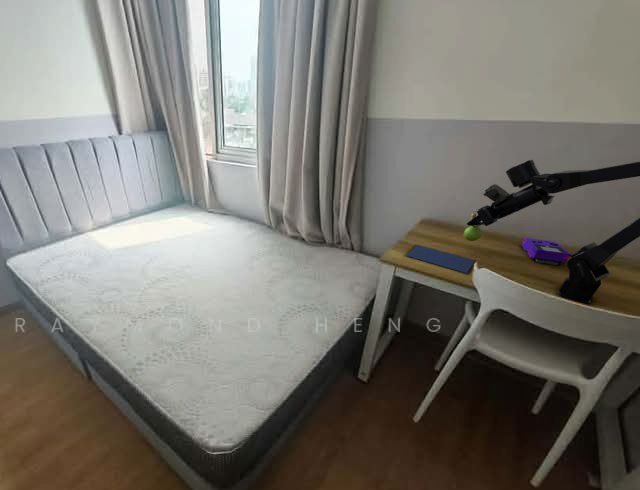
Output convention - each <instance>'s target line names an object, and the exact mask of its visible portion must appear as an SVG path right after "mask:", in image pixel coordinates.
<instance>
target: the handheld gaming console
mask: <svg viewBox="0 0 640 490" xmlns="http://www.w3.org/2000/svg"><path fill="white" fill-rule="evenodd" d="M522 248H523V250H524V251H527V252H526V253H527V255H528V257H529V258H530V259H535V262H536V263H540V264H547V265H553V266H558V265H559V263H561V264H562V263H565V264H567V262H568V260H569V259H570V258H571V257H570V255H572V253H570V252H569V251H568V250H567V249H566V248H564V247H563V246H561V245H560V244H558V243H557V242H556V241H552V240H545V239H537V238H527V237H525V238H524V240H523V242H522Z"/></svg>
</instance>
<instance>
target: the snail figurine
mask: <svg viewBox="0 0 640 490" xmlns="http://www.w3.org/2000/svg"><path fill="white" fill-rule="evenodd" d="M477 215H478V213H477V210H475V209H473V210H472V213H471V218H470V221H471V220H472V219H473V218H475V217H476V216H477ZM480 227H481V225H472V226H468V227H467V228H465V229H464V231H463V237H464V239H466V241H469V242H474V241H477V240H479V239H480V238H481V237H482V235H483V230H482V229H481V228H480Z"/></svg>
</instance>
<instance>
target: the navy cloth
mask: <svg viewBox="0 0 640 490" xmlns="http://www.w3.org/2000/svg"><path fill="white" fill-rule="evenodd" d="M406 257H407V258H410V259H415V260H418V261H420V262H421V261H422V262H425V263H428V264H431V265H435V266H439V267H442V268H446V269H449V270H453V271H456V272H459V273H462V274H465V275H466V274H468V272H469V271H470V270H471V268H472V266H473V265H474V263H475V262H476V260H475V259H472V258H467V257H463V256H460V255H455V254H452V253H449V252H446V251H440V250H437V249H434V248H429V247H426V246H423V245H416V246H415V247H413V249H412V250H411V251H409V253H407V254H406Z"/></svg>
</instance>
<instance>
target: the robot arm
mask: <svg viewBox="0 0 640 490" xmlns="http://www.w3.org/2000/svg"><path fill="white" fill-rule="evenodd" d="M505 174H506V176H507V178H508V179H509V181H510V183H511V185H512V187H513V188H518V189H520V190H518V191H516V192H511V193H510V192H508V191H507V190H505V189H504V188H503V187H501V186H500V185H498V184H496V183H495V184H492V185H490V186H488V187H487V188H485V190H484V191H483V193H482V195H483V196H484V197H487V198H488V199H489V200H491V201H492V202H491V204H490V205H484V206H482V207H480V208H477V209H476V215H477V214H478V215H477V216H476V217H475V218H473V219H472V220H471V219H470V220H469V221H468V222H466V225H467V226H468V227H471V226H472V225H480V226H485V227H488V226H490V225H492V224H495V223H497V222H498V220H500V219H503V218H506V217H508V216H510V215H512V214H514V213H517V212H520V211H521V210H525V209H526V208H528V207H531V206H533V205H535V204H537V203H540V202H541V203H542V205H544V206H548V205H551V204H552V202H553V200H554V198H555V197H556V196H555V195H554V194H557V193H562V192H565V191H568V190H572V189H576V188H579V187H583V186H586V185H592V184H599V183H604V182H612V181H617V180H618V181H619V180H625V179H631V178H638V177H640V160H638V161H633V162H628V163H622V164H616V165H612V166H606V167H601V168H600V167H599V168H595V169H573V170H562V171H558V172H554V173H547V172H546V173H542V174H541V173H540V172H539V170H538V168H537V167H536V163H535V161H534V159H528V160H527V161H525V162H522V163H520V164H518V165H515V166H512V167H510V168H509V169H507V170H505ZM638 239H640V217H639V218H637V219H636V220H634V221H632V222H631V223H629V224H628V225H627V226H625V227H623V228H622V229H621V230H619V231H617V232H616V233H615V234H613V235H612V236H610V237H608V238H607V239H606V240H604V241H603V242H601V243H599V244H597V243H596V242H594V241H593V242H591V243H589V244H586V245H584V246H582V247H581V248H580V249H579V250H578V251H576V252H575V253H571V255H570V257H569V258H568V260H567V262H566V266H567V267H566V268H567V269H568V270H569V273H568V276H566V277H564V280H563V281H562V283H561V285H560V286H559V289H558V292H559V297H562V298H566V299H569V300H572V301H577V302H579V303H583V304H587V305H590V303H591V300H592V298H593V296H594V295H595V294H596V292H597V291H598V290H599V289H600V287H601V285H602V279H605V278H607V277H608V276H610V275H611V272H610V270H609V269H608V267H607V266H606V263H608V262H609V261H610V260H611V259H612V258H613V257H614V256H615V255H616V254H617V253H618V252H619V251H621V250H622V249H624V248H625V247H627V246H629V245H630V244H632V243H634V242H635V241H637V240H638Z"/></svg>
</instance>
